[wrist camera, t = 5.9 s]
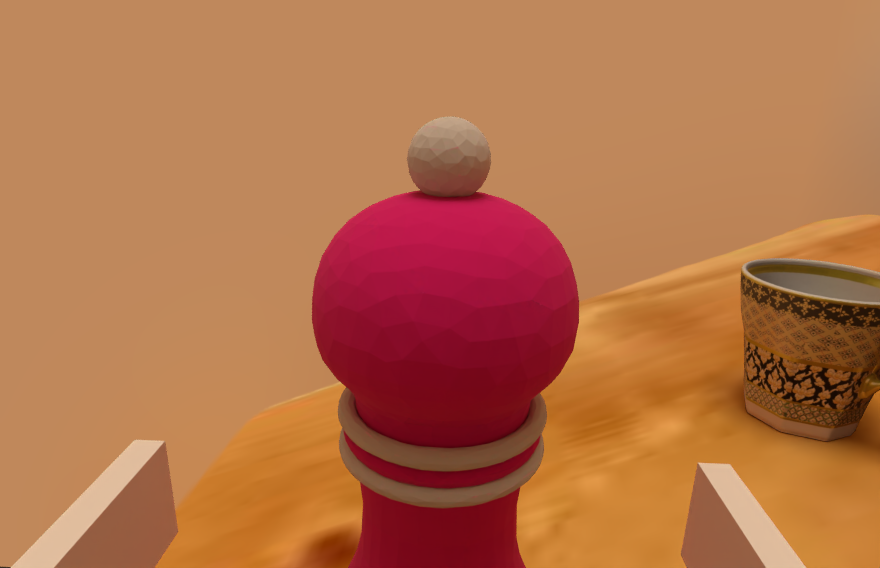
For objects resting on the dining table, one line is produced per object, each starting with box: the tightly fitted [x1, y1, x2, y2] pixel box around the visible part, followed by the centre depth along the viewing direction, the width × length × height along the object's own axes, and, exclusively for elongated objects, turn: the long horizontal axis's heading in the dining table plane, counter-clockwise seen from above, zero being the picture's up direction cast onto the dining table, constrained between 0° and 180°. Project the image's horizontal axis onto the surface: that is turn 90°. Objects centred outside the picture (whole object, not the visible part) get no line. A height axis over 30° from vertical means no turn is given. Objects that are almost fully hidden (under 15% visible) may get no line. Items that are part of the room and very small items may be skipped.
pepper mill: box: [312, 117, 579, 568], centre depth 15 cm, size 7×7×20 cm
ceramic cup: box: [741, 258, 880, 441], centre depth 37 cm, size 13×10×10 cm
